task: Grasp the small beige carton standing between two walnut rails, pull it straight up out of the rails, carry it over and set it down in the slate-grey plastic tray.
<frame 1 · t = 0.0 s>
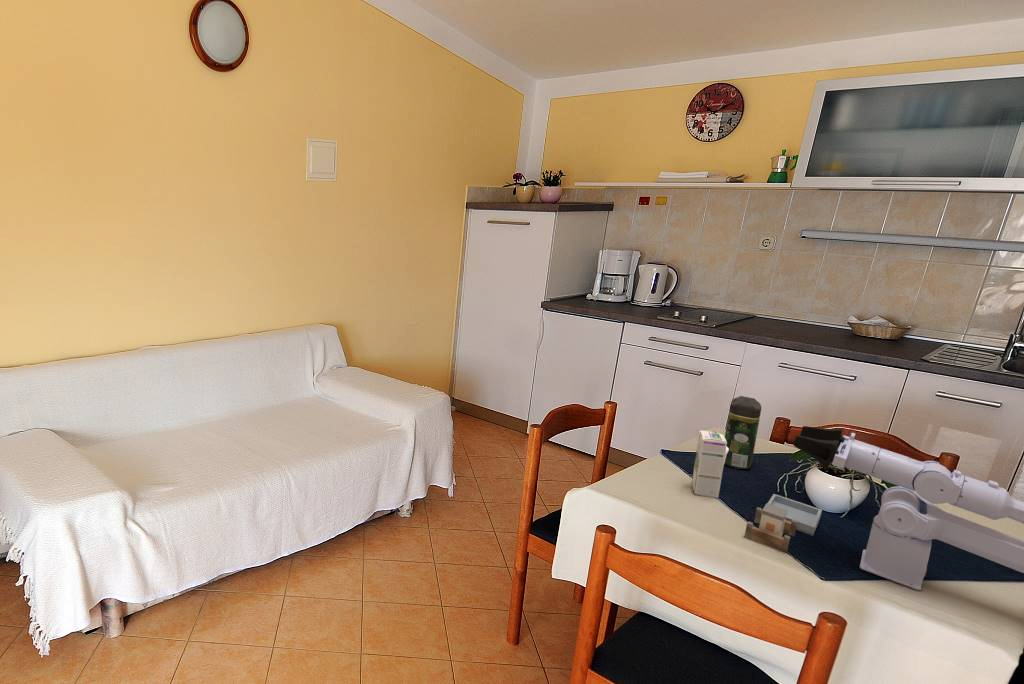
hand: (798, 435, 109), 22 cm above the table, tool horizontal, fingers open, 7 cm apart
small beige carton: (769, 536, 111), on the table
beverage cup: (710, 479, 136), on the table
rail holder: (769, 535, 111), on the table
syrup box: (704, 491, 129), on the table
tray: (791, 517, 120), on the table
coffee jar: (735, 463, 147), on the table
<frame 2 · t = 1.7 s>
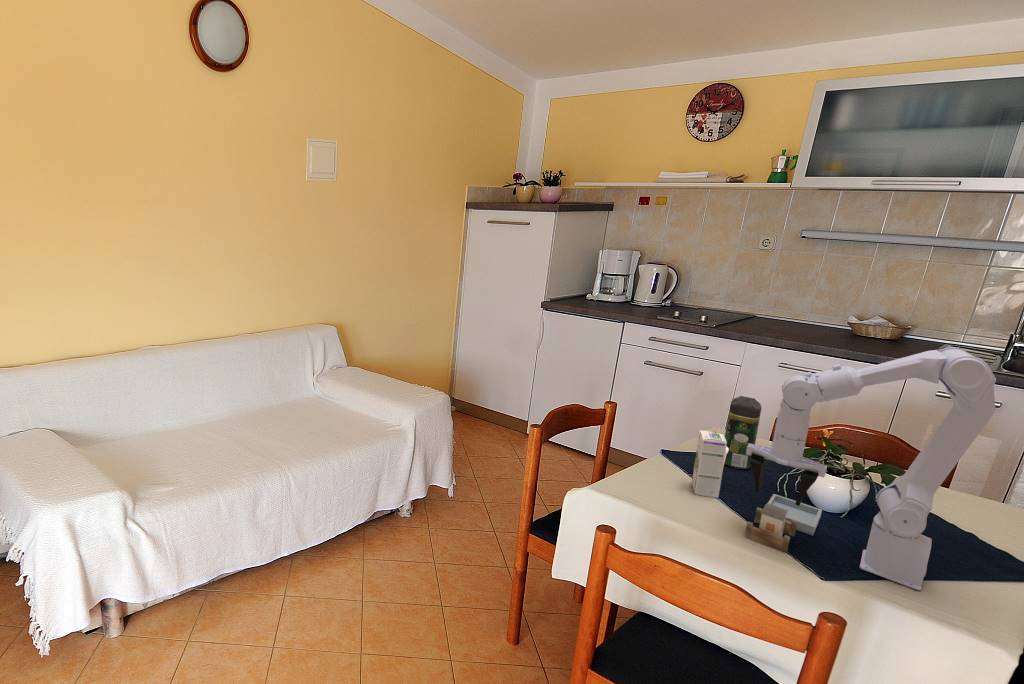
hand: (777, 496, 109), 9 cm above the table, tool pointing down, fingers open, 7 cm apart
nothing on the table moved.
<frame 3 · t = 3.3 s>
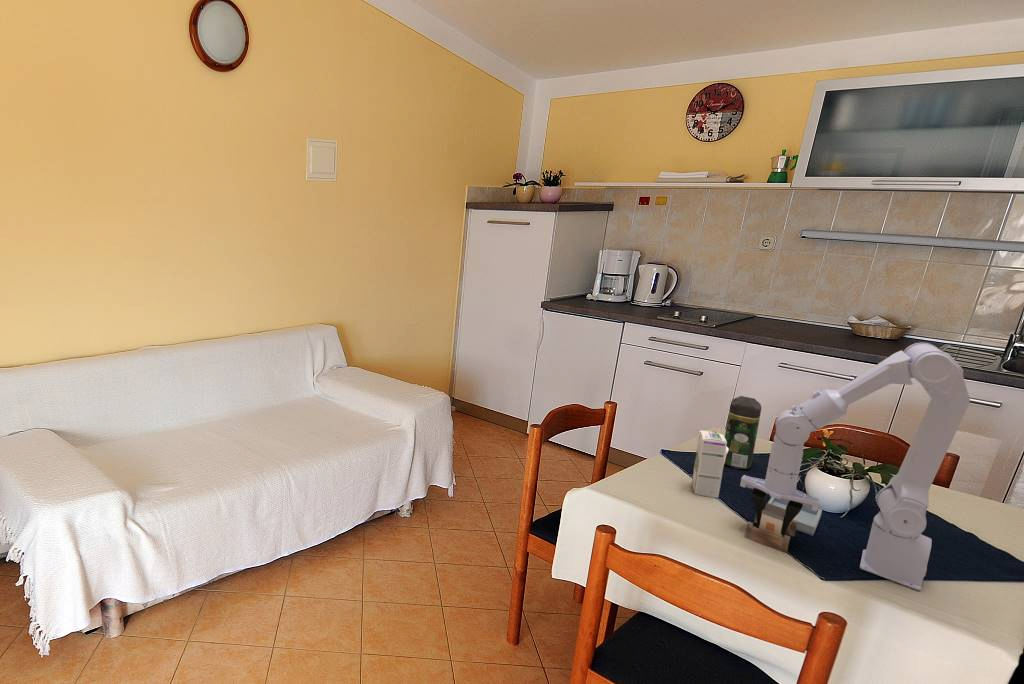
hand: (771, 528, 111), 2 cm above the table, tool pointing down, fingers closed on small beige carton, 4 cm apart
small beige carton: (769, 535, 111), on the table, touching gripper
everything else where it was.
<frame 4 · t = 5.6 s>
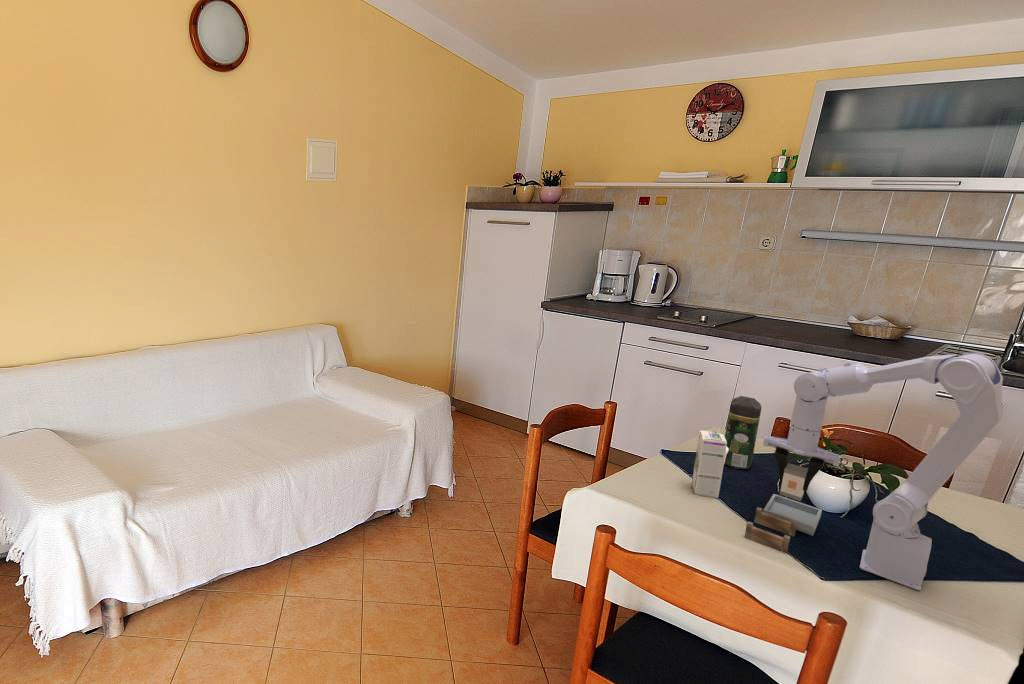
hand: (793, 485, 115), 9 cm above the table, tool pointing down, fingers closed on small beige carton, 4 cm apart
small beige carton: (791, 494, 116), point 7 cm above the table, touching gripper
everything else where it was.
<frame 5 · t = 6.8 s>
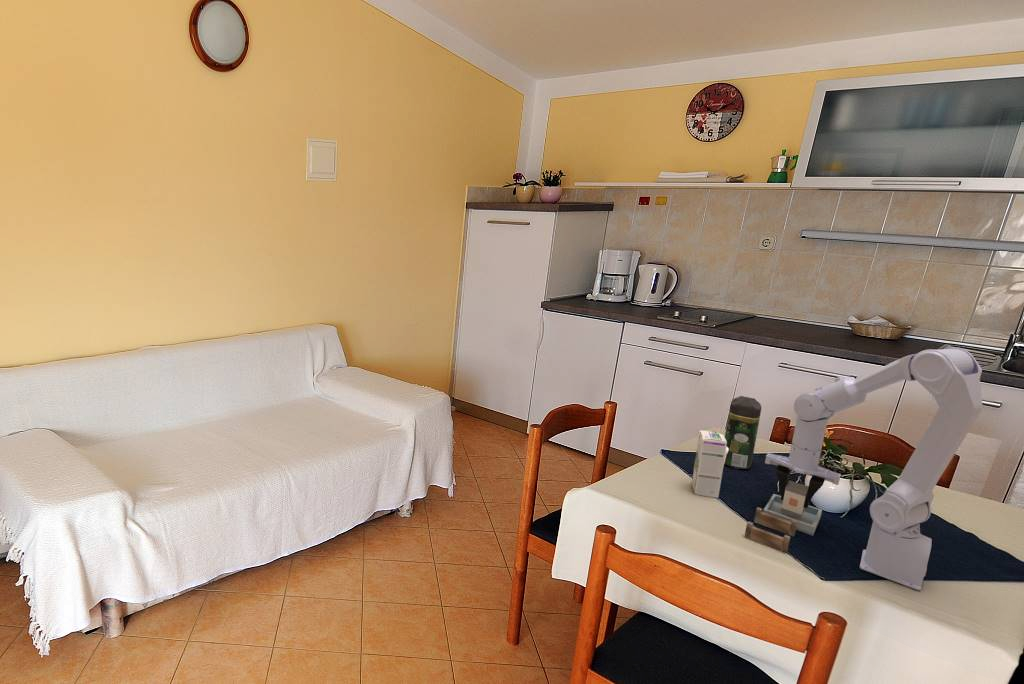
hand: (794, 502, 119), 4 cm above the table, tool pointing down, fingers closed on small beige carton, 4 cm apart
small beige carton: (792, 511, 119), point 2 cm above the table, touching gripper
everything else where it was.
when the fingers open (3 cm above the table, at t = 7.7 s): small beige carton stays where it is, resting on tray.
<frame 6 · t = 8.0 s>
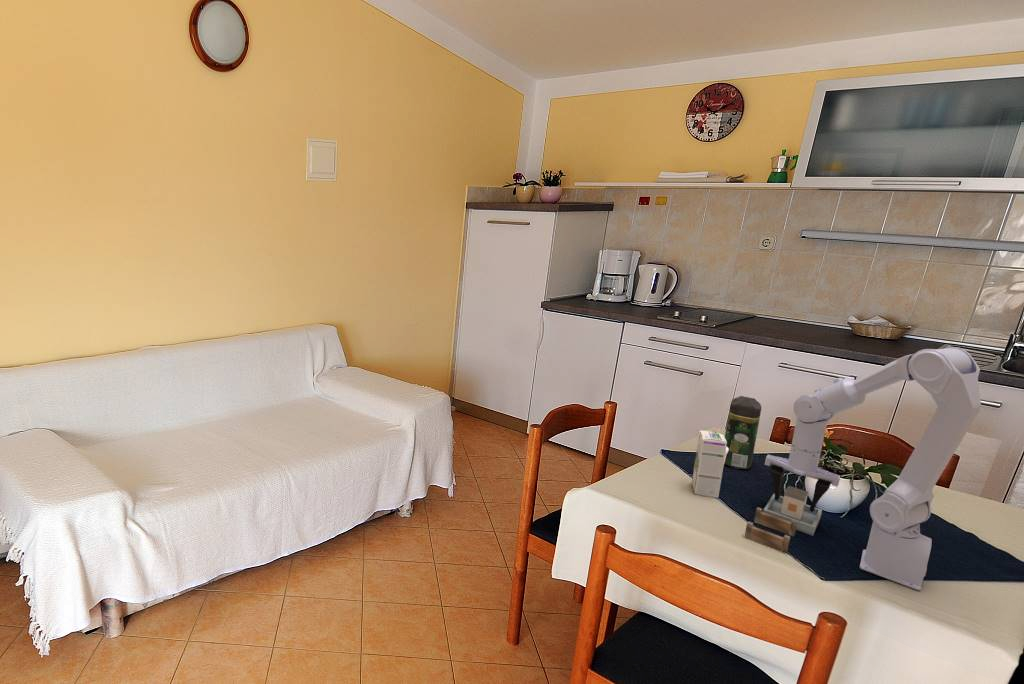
hand: (794, 504, 119), 3 cm above the table, tool pointing down, fingers open, 6 cm apart
small beige carton: (791, 516, 119), resting on tray
everything else where it was.
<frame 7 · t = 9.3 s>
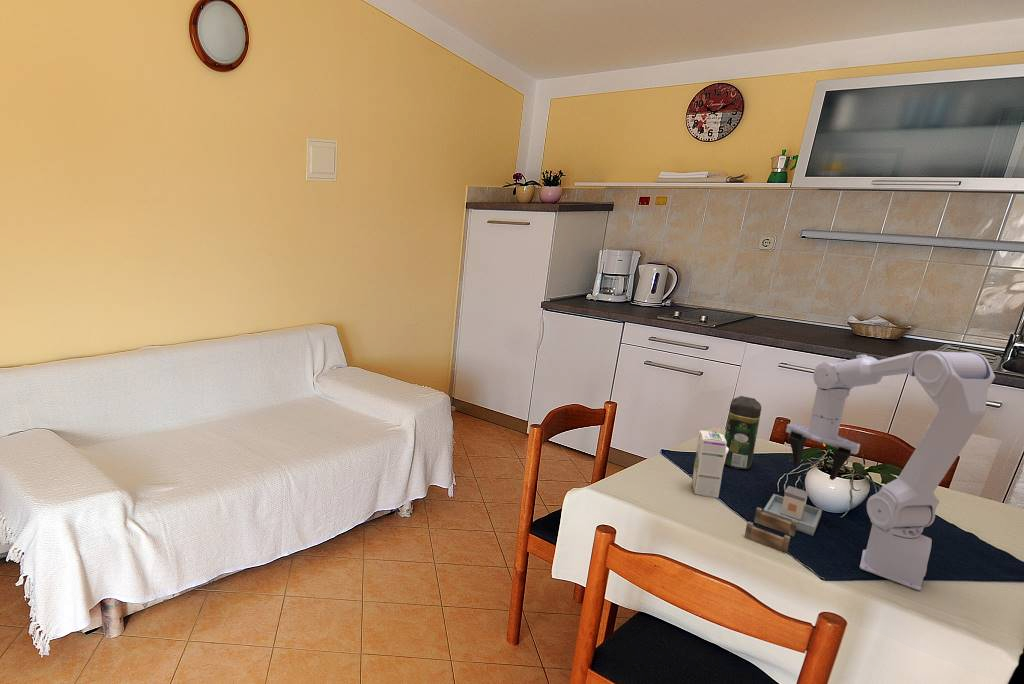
hand: (814, 471, 121), 10 cm above the table, tool pointing down, fingers open, 7 cm apart
nothing on the table moved.
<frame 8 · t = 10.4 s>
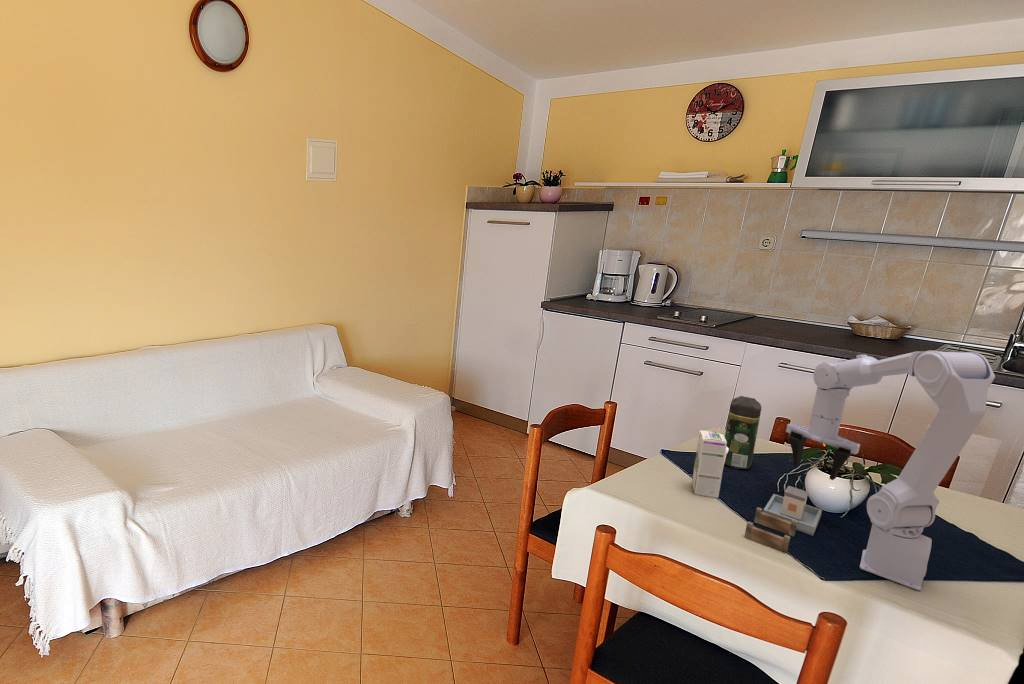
hand: (814, 471, 121), 10 cm above the table, tool pointing down, fingers open, 7 cm apart
nothing on the table moved.
at the end: small beige carton inside the target area on the tray (0.4 cm from its centre), point 0.5 cm above the tray's base; the gripper is holding nothing; small beige carton moved 11.8 cm from its start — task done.
